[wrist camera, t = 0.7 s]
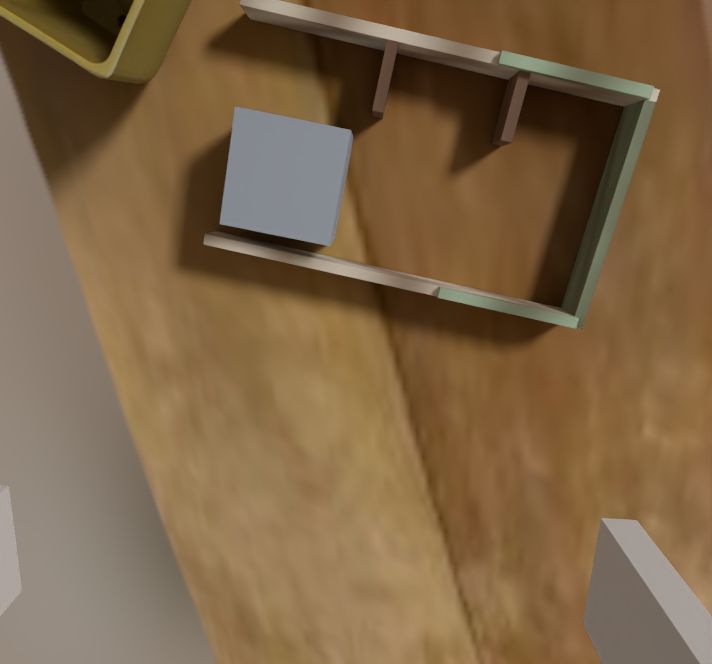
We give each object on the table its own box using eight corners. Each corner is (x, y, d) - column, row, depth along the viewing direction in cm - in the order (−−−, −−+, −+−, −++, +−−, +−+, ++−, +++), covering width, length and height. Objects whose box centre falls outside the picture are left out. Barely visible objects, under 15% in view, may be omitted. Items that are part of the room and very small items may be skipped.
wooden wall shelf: (215, 240, 34) (201, 244, 31) (251, 7, 31) (239, -12, 28) (567, 319, 35) (584, 330, 32) (637, 98, 31) (664, 88, 29)
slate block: (237, 220, 34) (219, 224, 30) (251, 116, 33) (235, 106, 29) (334, 240, 34) (329, 245, 30) (353, 137, 33) (350, 129, 29)
